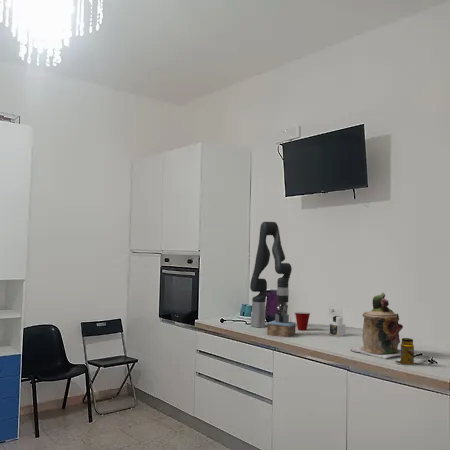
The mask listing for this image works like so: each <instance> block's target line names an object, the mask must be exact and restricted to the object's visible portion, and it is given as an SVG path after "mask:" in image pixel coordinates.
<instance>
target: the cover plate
mask: <svg viewBox="0 0 450 450" xmlns="http://www.w3.org/2000/svg"><path fill="white" fill-rule="evenodd" d="M274 316H275V317H274V320H272V321H269V322H267V324H273V325H283V326H289V327H291V326H294V325H295V326H296V321H295V322H294V321H290V318H289V317H290V316H289V314H286V315H284V314H283V322H279V315H278V314H277V313H275V315H274Z"/></svg>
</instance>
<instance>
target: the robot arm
mask: <svg viewBox="0 0 450 450" xmlns="http://www.w3.org/2000/svg"><path fill="white" fill-rule="evenodd" d="M280 234H281V233H280V229H279V226H278V223H277V222H276V221H263V222H261V224H260V227H259V237H258V239H259V240H258V245H257V251H256V256H255V263H254V268H253V273H252V276H251V280H250V284H249V285H250V286H249V288H250V290H251V292H253V293H254V292H255V293H258V294H257V295H254V296H253V297H252V306H251V307H252V308H251V312H250V327H253V328H265V327H266V308H267V307H266V305H267V303H266V300H267V291H268V290H267V289H268V284H267V283H268V282H267V280H266V278H260V275H261V274H262V272H263V271H264V270H265V269H266V268H267V266H268V265H269V262H270V258H271V252H272V256H273V260H274V270H275V273H276V274H278V275H282V277H279V278H278V279H277V284H276V285H277V287H276V302H277V303H278V306H276V312H277V313H276V314H278V315H279V322H283V314H284V315H287V313H288V307H289V305H288V304H287V303H289V299H290V298H289V281H290V278H291V274H292V271H293V267H292V265H291V264H290V263H289V262H284V261H285V259H286V256H285V253H284V249H283V247H282V241H281V235H280ZM267 236H272V238H273V244H272V247H271V251H270V249H269V246H268V244H267Z"/></svg>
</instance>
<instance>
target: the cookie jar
mask: <svg viewBox="0 0 450 450" xmlns="http://www.w3.org/2000/svg"><path fill="white" fill-rule="evenodd" d="M385 298H386V294H385V292H381V294H378V295H375V296H373V298H372V310H369V311H364V312H363V313H362V315H361V316H362V318H363V326H362V334H361V337H362V342H363V346H357V347H356V346H355V347H350V348H349V350H350V352H354V353H361V354H363V355H365V356H370V357H375V358H379V359H384V360H386V359H389V358H390V359H391V358H394V357H401V348H400V349H399V348H398V346H399V344H401V340H400V331H402V329H403V328H404V326H403V324H402V323H399V320H400V316H399V314H398V313H395V312H394V311H393V310H392V309H390V308H389V307H388V306H389V305H390V304H389V300H388V299H385Z"/></svg>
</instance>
